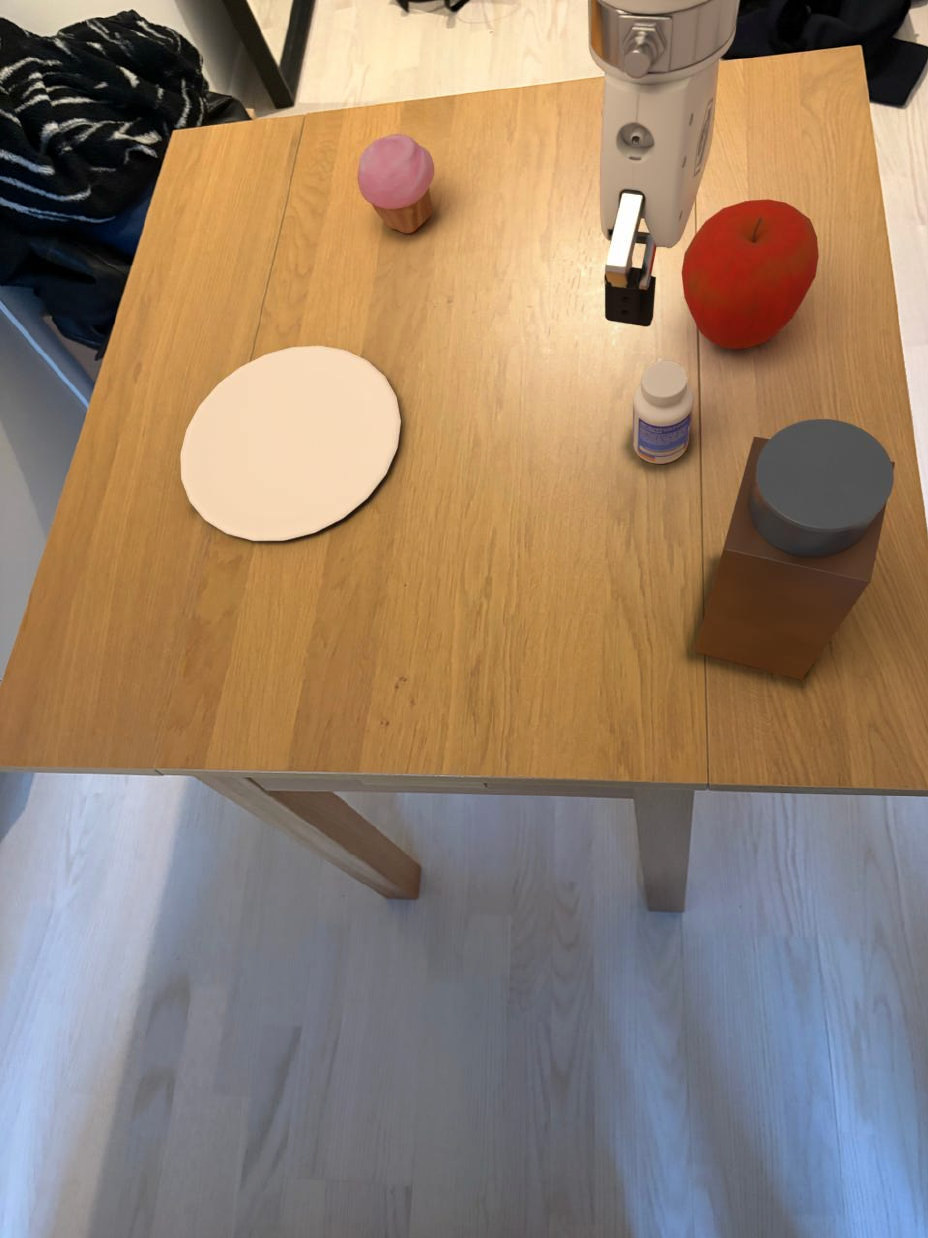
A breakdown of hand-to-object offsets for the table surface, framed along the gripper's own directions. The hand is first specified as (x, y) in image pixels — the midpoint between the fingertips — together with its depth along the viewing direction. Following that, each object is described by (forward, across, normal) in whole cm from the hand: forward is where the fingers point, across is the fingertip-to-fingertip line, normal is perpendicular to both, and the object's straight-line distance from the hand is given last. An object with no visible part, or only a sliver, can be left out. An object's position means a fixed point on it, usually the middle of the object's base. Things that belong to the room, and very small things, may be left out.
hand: (647, 266), depth 56 cm
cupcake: (+25, +27, +35) cm, 51 cm away
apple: (+25, +17, -6) cm, 31 cm away
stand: (+24, -14, -15) cm, 31 cm away
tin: (+4, -14, -14) cm, 20 cm away
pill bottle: (+25, +2, -2) cm, 25 cm away
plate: (+25, -6, +36) cm, 44 cm away
